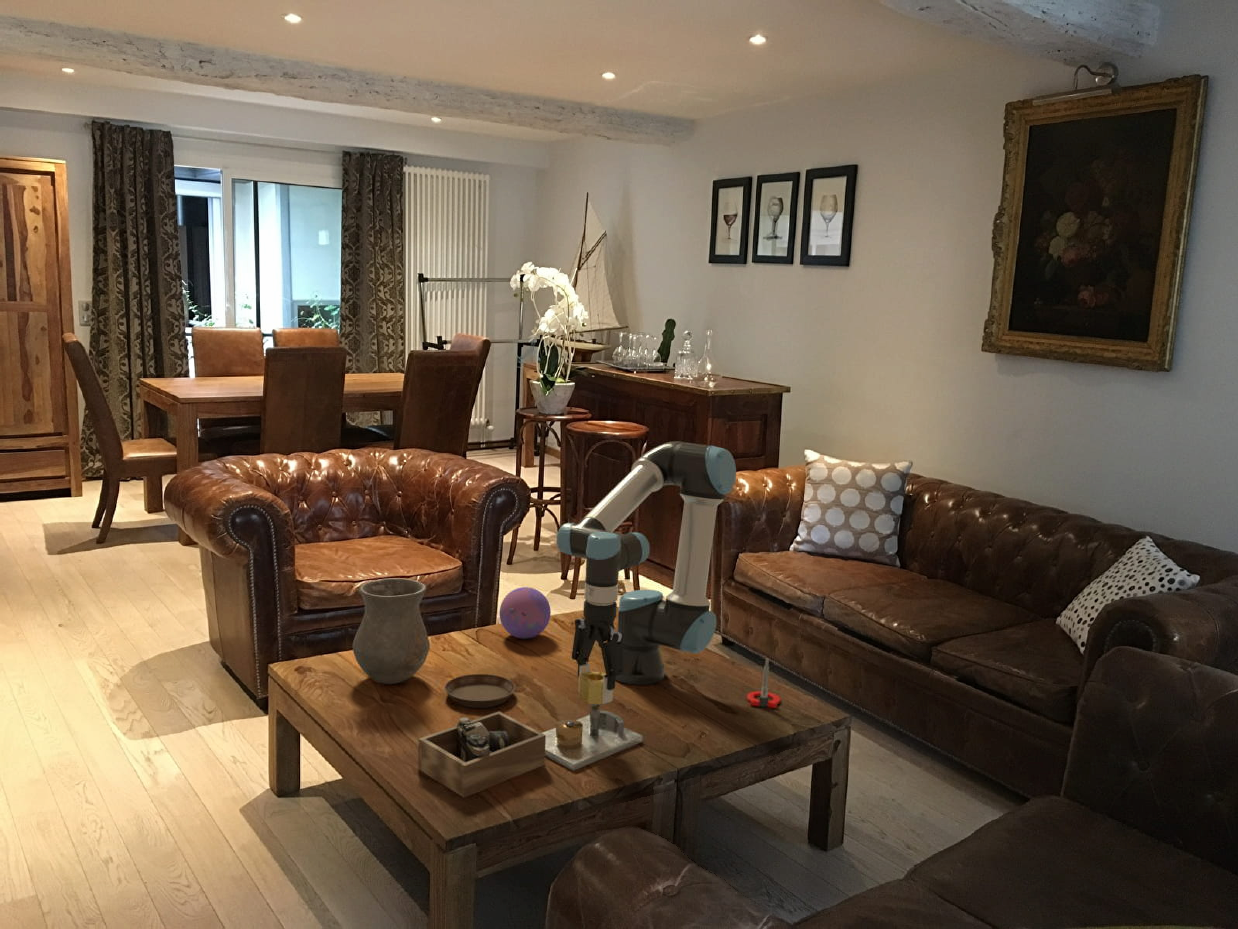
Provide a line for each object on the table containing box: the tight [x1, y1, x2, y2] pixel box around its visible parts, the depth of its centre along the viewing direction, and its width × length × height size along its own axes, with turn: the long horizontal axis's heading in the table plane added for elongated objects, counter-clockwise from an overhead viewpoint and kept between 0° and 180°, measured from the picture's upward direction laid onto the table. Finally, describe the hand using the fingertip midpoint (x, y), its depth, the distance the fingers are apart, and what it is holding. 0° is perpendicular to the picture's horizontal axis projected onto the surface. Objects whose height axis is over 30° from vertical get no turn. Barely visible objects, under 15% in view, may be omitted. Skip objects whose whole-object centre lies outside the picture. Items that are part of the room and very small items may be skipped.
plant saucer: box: [444, 673, 516, 709], centre depth 258 cm, size 18×18×3 cm
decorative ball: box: [499, 586, 552, 640], centre depth 301 cm, size 15×15×15 cm
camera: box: [456, 716, 511, 762], centre depth 220 cm, size 16×10×10 cm, turn 25°
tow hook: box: [746, 657, 781, 709], centre depth 264 cm, size 8×13×9 cm
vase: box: [352, 577, 431, 685], centre depth 263 cm, size 20×19×25 cm
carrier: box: [542, 704, 643, 771], centre depth 234 cm, size 16×22×8 cm
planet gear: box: [578, 670, 606, 705], centre depth 234 cm, size 7×7×5 cm
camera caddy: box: [417, 711, 546, 798], centre depth 221 cm, size 16×22×7 cm
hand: (595, 696), depth 235 cm, fingers closed on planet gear, 7 cm apart
